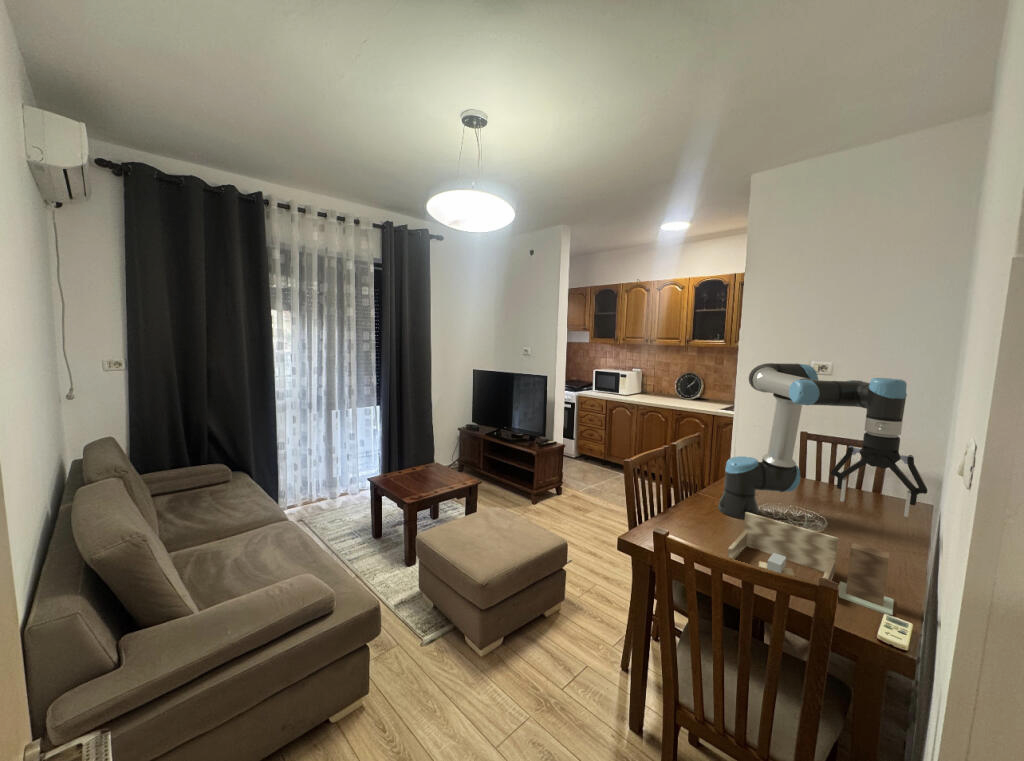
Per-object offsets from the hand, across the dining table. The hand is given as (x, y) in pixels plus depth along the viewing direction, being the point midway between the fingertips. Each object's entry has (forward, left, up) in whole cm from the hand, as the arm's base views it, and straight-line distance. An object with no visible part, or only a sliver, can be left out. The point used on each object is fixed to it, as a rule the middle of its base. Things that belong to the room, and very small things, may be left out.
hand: (872, 507), depth 116 cm
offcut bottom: (-20, -7, -27) cm, 35 cm away
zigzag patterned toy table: (-20, -1, -27) cm, 34 cm away
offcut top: (-20, -7, -24) cm, 32 cm away
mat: (+1, -1, -27) cm, 27 cm away
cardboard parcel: (+1, -1, -26) cm, 26 cm away
